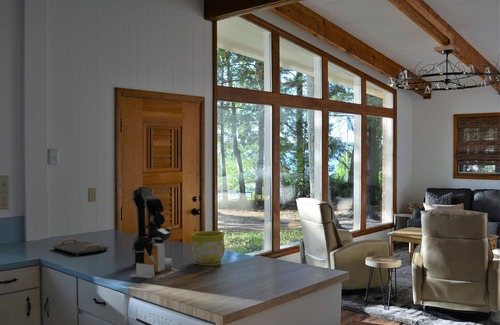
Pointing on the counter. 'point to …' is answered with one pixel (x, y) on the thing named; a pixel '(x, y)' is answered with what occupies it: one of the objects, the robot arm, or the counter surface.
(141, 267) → the bookends
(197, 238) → the flowerpot
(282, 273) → the counter surface
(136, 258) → the robot arm
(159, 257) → the small box
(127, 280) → the counter surface
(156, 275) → the shelf board
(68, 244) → the serving board
